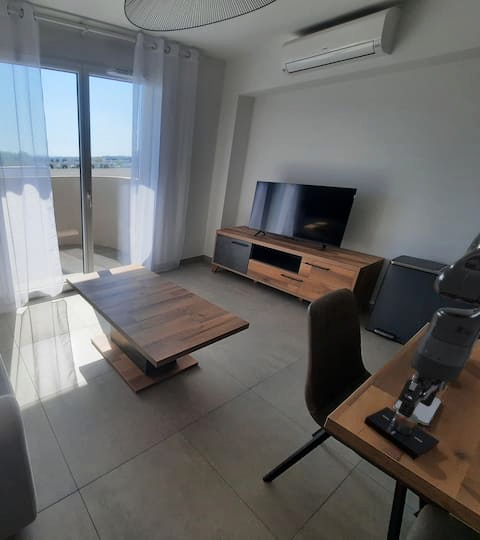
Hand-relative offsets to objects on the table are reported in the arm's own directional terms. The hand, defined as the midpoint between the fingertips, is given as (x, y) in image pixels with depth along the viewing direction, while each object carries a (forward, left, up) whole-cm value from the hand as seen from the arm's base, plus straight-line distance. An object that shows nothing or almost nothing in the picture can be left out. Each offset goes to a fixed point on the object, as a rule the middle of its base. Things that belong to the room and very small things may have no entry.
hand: (414, 409), depth 70 cm
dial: (+1, -1, -7) cm, 7 cm away
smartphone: (+4, -16, -10) cm, 19 cm away
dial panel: (+1, -1, -9) cm, 9 cm away
